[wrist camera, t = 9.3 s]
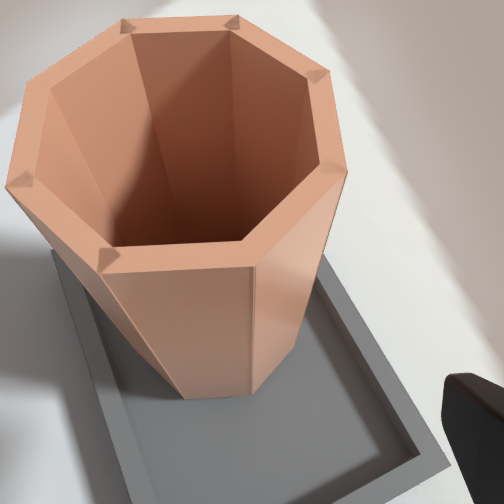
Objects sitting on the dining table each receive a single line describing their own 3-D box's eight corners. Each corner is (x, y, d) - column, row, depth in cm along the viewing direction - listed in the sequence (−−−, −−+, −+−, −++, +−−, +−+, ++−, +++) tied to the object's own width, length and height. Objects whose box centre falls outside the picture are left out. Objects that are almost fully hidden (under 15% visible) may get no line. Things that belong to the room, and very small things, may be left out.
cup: (297, 396, 20) (364, 261, 8) (141, 405, 20) (-16, 280, 8) (283, 257, 23) (319, 11, 11) (147, 264, 23) (38, 21, 11)
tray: (434, 467, 19) (451, 465, 18) (178, 612, 17) (171, 625, 15) (268, 186, 25) (270, 165, 24) (64, 267, 23) (50, 250, 21)
